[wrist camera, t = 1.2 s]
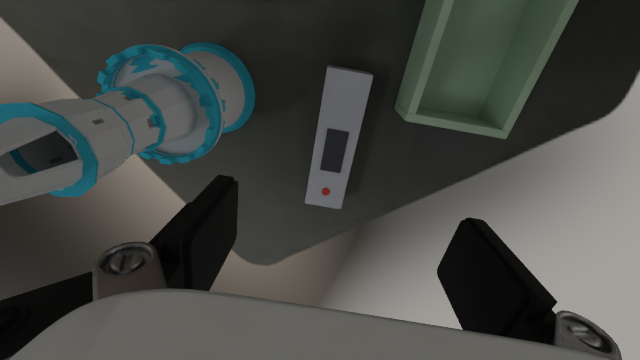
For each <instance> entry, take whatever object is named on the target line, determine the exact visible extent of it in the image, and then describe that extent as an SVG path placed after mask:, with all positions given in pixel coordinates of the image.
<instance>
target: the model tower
mask: <svg viewBox="0 0 640 360" xmlns="http://www.w3.org/2000/svg"><path fill="white" fill-rule="evenodd" d="M106 62H107V63H108V66H107V68H106V70H103V71H100V72H99V75H98V79H97V82H98V83H100V84H102V93H97V97H95V98H92V99H61V100H56V101H50V102H45V103H40V104H33V103H12V104H1V105H0V205H4V204H8V203H11V202H15V201H19V200H23V199H26V198H29V197H33V196H37V195H40V194H44V193H50V194H52V195H55V196H57V197H65V196H81V195H82V194H84V193H85V192H86V191H87V190H89V189H90V188H91V187H92V186H94V184H95V183H96V182H97V180H98V179H100V178H102V177H103V176H105V175H107V174H109V173H110V172H112V171H114V170H115V169H116V168H118V167H119V166H120V165H121V164H123V163H124V162H125V160H126V159H127V158H128V157H130V156H131V155H133V154H136V153H139V154H138V155H140V156H142V157H144V158H146V159H148V160H150V159H152V158H155V159H158V160H160V163H161V164H170V165H171V164H172V163H174V162H180V163H181V164H182V163H185V162H188V161H191V160H194V159H197V158H199V157H201V156H203V155H204V154H206V153H207V152H209V151H210V150H211V149H212V148H213V147H214V146H215V144H216V143H217V141H218V139H219V138H220V136H221V133H228V132H231V131H234V130H236V129H238V128H240V127H241V126H243V125H244V124H245V123H246V122H247V121H248V119H249V117H250V116H251V114H252V112H253V108H254V105H255V89H254V84H253V81H252V78H251V75H250V74H249V72H248V70H247V68H246V66H245V65H244V64H243V63H242V61H241V60H240V59H239V58H238V57H237V56H236V55H235V54H233V53H232V52H231V51H229V50H228V49H226V48H224V47H223V46H220V45H217V44H214V43H209V42H198V43H193V44H190V45H188V46H185V47H184V48H183V49H182V50H180V51H177V50H175V49H172V48H169V47H166V46H162V45H154V44H144V45H136V46H133V47H130V48H128V49H126V50H123V51H122V52H121V53H120V54H114V55H112V56H111V57H110V58H109V59H108V60H107V61H106Z"/></svg>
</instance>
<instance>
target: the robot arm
mask: <svg viewBox="0 0 640 360" xmlns="http://www.w3.org/2000/svg"><path fill="white" fill-rule="evenodd" d="M237 208H238V182H237V181H234V178H233V177H230V176H224V175H218V176H217V177H216V178H215V179H214V180H213V181H212V182H211V183H210V184H209V185H208V186H207V187H206V188H205V189H204V190H203V191H202V192H201V193H200V194H199V195H198V196H197V197H196V198H195V199H194V201H193V202H189V203H188V204H186V205H185V206H184V207H183V208H182V209H181V210H180V212H178V213H177V214H176V215H175V216H174V217H173V218H172V219H171V221H170V222H169V223H167V225H166V226H165V227H164V228H163V229H162V230H161V231H160V232H159V233H158V234H157V235H156V236H155V237H154V238H153V239H152V240H151V241H150V242H149V243H145V242H129V243H123V244H120V245H117V246H114V247H112V248H110V249H108V250H106V251H105V252H103V253H102V254H101V255H100V256H99V257H98V258H97V259H96V261H95V262H94V264H93V268H92V272H88V273H85V274H82V275H79V276H76V277H73V278H70V279H66V280H63V281H60V282H57V283H54V284H51V285H48V286H45V287H41V288H38V289H36V290H32V291H29V292H26V293H23V294H20V295H16V296H13V297H10V298H7V299H4V300H1V301H0V360H622V358H621V353H620V350H619V348H618V346H617V344H616V343H615V342H614V341H613V340H612V338H611V337H610V336H609V335H608V334H607V333H606V332H605V331H604V330H602V329H601V328H600V327H598V326H597V325H596V324H594V323H593V322H591V321H589V320H588V319H586V318H584V317H582V316H580V315H578V314H576V313H573V312H569V311H560V312H557V314H555V313H554V312H553V311H552V308H553V307H554V306H555V304H556V303H557V301H556V300H555V299H554V298H553V296H552V295H551V294H550V293H549V292H548V291H547V290H546V289H545V288H544V286H543V285H542V284H541V283H540V282H539V281H538V280H537V279H536V278H535V276H534V275H533V274H532V273H531V272H530V271H529V270H528V269H527V268H526V267H525V265H524V264H523V263H522V262H521V261H520V260H519V259H518V258H517V257H516V255H515V254H514V253H513V252H512V251H511V250H510V249H509V248H508V247H507V245H506V244H504V242H503V241H502V240H501V239H500V238H499V237H498V236H497V234H496V233H495V232H494V231H493V230H492V229H491V228H490V227H489V226H488V224H487V223H486V222H484V221H483V220H480V219H474V218H466V219H465V220H462V221H461V222H460V224H459V226H458V228H457V230H456V232H455V234H454V236H453V238H452V240H451V242H450V244H449V246H448V248H447V250H446V252H445V254H444V256H443V258H442V260H441V262H440V264H439V266H438V269H437V275H438V278H439V280H440V282H441V284H442V286H443V288H444V290H445V293H446V295H447V297H448V299H449V301H450V303H451V305H452V308H453V310H454V312H455V314H456V316H457V318H458V320H459V323H460V324H461V327H462V329H463V330H459V329H454V328H448V327H441V326H435V325H429V324H423V323H417V322H410V321H404V320H397V319H392V318H385V317H379V316H373V315H366V314H360V313H354V312H347V311H341V310H334V309H328V308H321V307H315V306H308V305H302V304H295V303H288V302H282V301H275V300H269V299H262V298H255V297H249V296H242V295H235V294H227V293H218V292H209V290H210V288H211V286H212V284H213V282H214V281H215V278H216V277H217V275H218V273H219V271H220V269H221V267H222V265H223V263H224V262H225V260H226V258H227V256H228V254H229V252H230V250H231V248H232V246H233V245H234V243H235V240H236V235H237Z"/></svg>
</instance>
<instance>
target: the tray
mask: <svg viewBox="0 0 640 360" xmlns="http://www.w3.org/2000/svg"><path fill="white" fill-rule="evenodd" d="M578 1H579V0H426V2H425V5H424V8H423V12H422V15H421V18H420V22H419V25H418V29H417V32H416V35H415V39H414V42H413V45H412V49H411V52H410V56H409V59H408V62H407V66H406V69H405V72H404V76H403V79H402V83H401V86H400V89H399V93H398V96H397V99H396V103H395V106H394V109H395V110H396V111H397V112H398V113H399V114H400V116H401V117H402V118H403V119H404V120H405V121H408V122H414V123H419V124H425V125H430V126H436V127H442V128H447V129H453V130H458V131H464V132H469V133H475V134H480V135H486V136H491V137H497V138H502V139H506V138H507V136H508V134H509V131H511V129H512V127H513V125H514V123H515V121H516V119H517V117H518V115H519V113H520V112H521V110H522V108H523V106H524V104H525V102H526V100H527V98H528V96H529V94H530V93H531V91H532V89H533V87H534V85H535V83H536V81H537V79H538V77H539V75H540V74H541V72H542V70H543V68H544V66H545V64H546V62H547V60H548V58H549V56H550V54H551V53H552V51H553V49H554V47H555V45H556V43H557V41H558V39H559V37H560V35H561V34H562V32H563V30H564V28H565V26H566V24H567V22H568V20H569V18H570V16H571V14H572V13H573V11H574V9H575V7H576V5H577V3H578Z"/></svg>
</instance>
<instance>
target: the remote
mask: <svg viewBox="0 0 640 360" xmlns="http://www.w3.org/2000/svg"><path fill="white" fill-rule="evenodd" d="M372 80H373V75H372V74H371V73H370V72H365V71H360V70H355V69H349V68H344V67H338V66H333V65H328V67H327V72H326V78H325V84H324V90H323V96H322V102H321V108H320V114H319V120H318V126H317V132H316V138H315V145H314V151H313V157H312V163H311V169H310V175H309V181H308V187H307V193H306V199H305V203H307V204H313V205H319V206H325V207H330V208H336V209H341V206H342V202H343V198H344V194H345V190H346V186H347V182H348V178H349V173H350V169H351V165H352V161H353V157H354V153H355V149H356V145H357V141H358V137H359V133H360V129H361V125H362V121H363V116H364V112H365V108H366V104H367V100H368V96H369V92H370V88H371V84H372Z"/></svg>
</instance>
